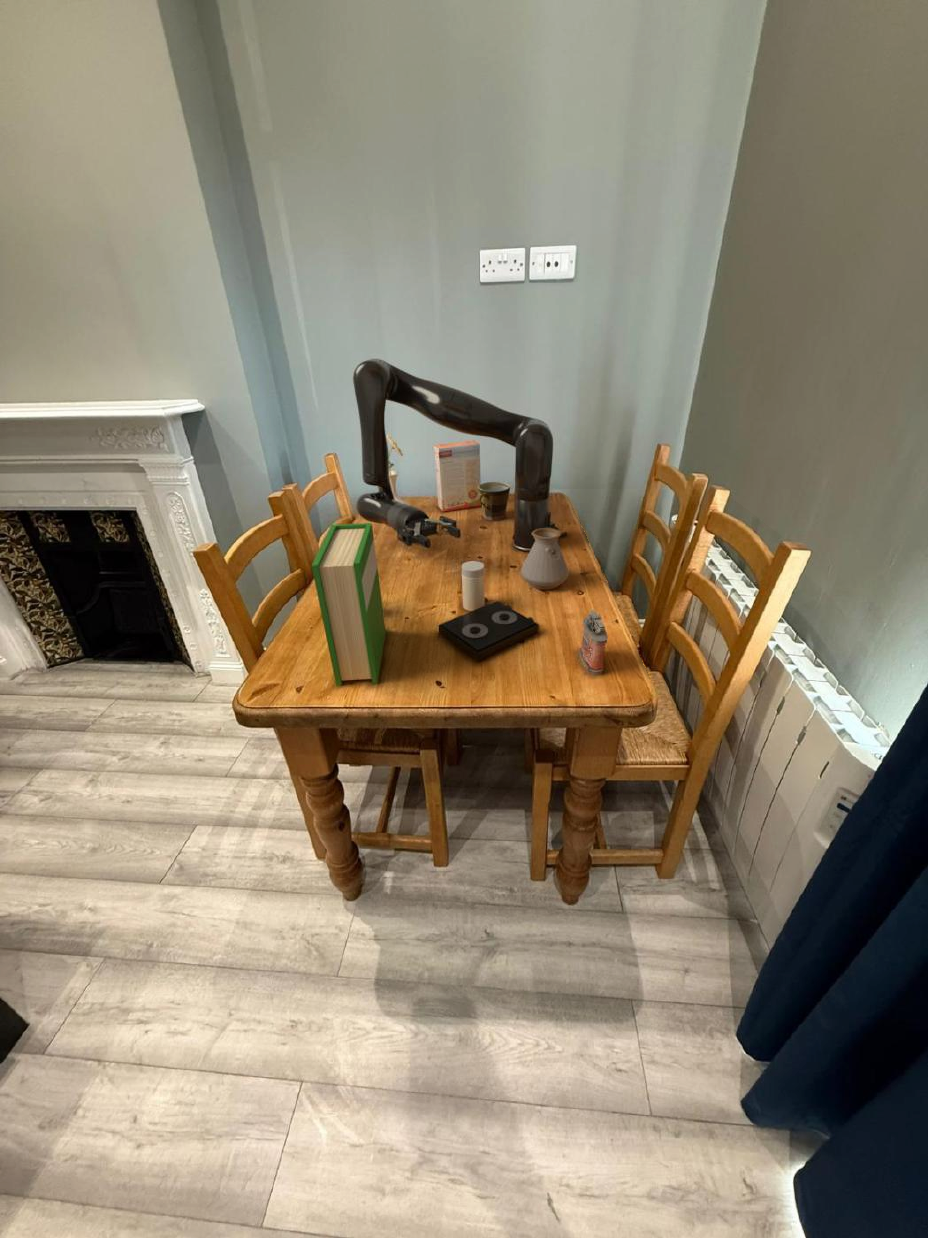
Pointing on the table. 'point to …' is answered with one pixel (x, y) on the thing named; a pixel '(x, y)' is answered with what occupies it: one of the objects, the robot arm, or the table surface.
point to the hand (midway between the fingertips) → (444, 538)
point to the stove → (488, 630)
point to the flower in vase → (394, 473)
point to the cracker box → (458, 475)
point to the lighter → (593, 643)
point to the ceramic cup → (494, 499)
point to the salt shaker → (473, 585)
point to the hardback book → (351, 601)
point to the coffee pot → (545, 561)
